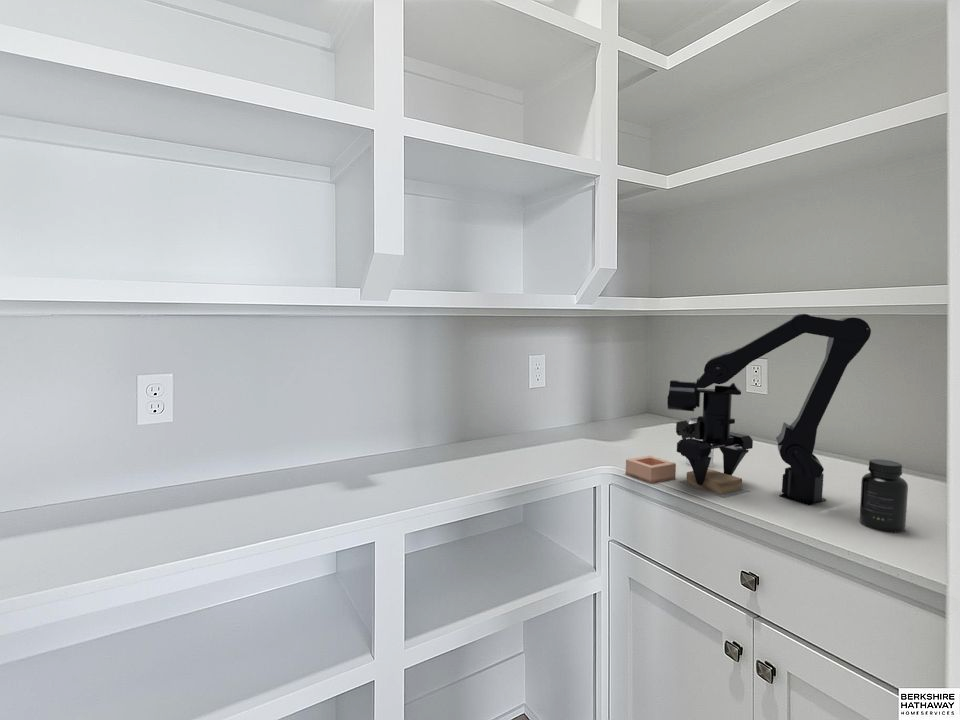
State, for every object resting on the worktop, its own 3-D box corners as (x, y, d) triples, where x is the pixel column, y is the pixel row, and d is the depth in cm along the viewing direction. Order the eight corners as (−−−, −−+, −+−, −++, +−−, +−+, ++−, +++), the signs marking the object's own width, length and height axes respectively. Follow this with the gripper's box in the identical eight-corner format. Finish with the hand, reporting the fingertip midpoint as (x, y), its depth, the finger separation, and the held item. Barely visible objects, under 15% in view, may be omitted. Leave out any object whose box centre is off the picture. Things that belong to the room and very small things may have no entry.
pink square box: (675, 480, 124) (675, 463, 124) (650, 485, 120) (651, 467, 120) (649, 471, 131) (649, 455, 131) (625, 475, 127) (626, 459, 127)
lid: (741, 489, 116) (742, 478, 116) (720, 494, 113) (721, 483, 113) (706, 478, 124) (707, 468, 124) (686, 482, 121) (686, 472, 120)
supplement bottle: (863, 516, 102) (867, 455, 101) (908, 526, 97) (913, 462, 96) (854, 525, 98) (859, 461, 97) (901, 536, 93) (906, 469, 92)
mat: (750, 492, 115) (750, 490, 115) (723, 499, 111) (723, 497, 111) (703, 478, 126) (703, 476, 126) (677, 483, 122) (677, 481, 122)
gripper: (712, 404, 129) (710, 467, 130) (658, 410, 120) (656, 478, 121) (755, 412, 119) (752, 479, 120) (700, 419, 110) (697, 492, 111)
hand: (713, 481), depth 118 cm, fingers open, 9 cm apart
